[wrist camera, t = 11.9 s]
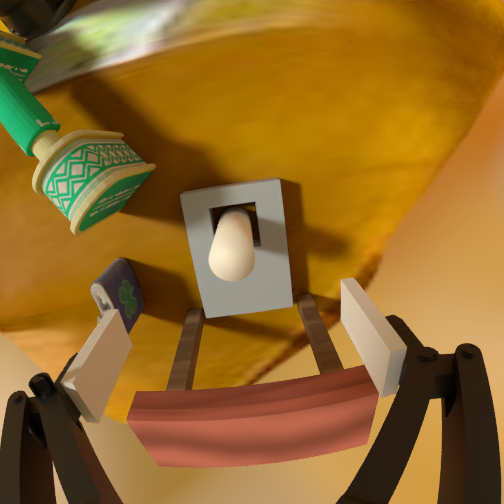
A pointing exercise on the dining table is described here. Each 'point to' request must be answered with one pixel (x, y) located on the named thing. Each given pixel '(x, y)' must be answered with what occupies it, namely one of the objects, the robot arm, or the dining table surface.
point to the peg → (232, 246)
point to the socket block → (265, 249)
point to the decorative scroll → (66, 148)
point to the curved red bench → (255, 408)
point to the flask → (119, 292)
